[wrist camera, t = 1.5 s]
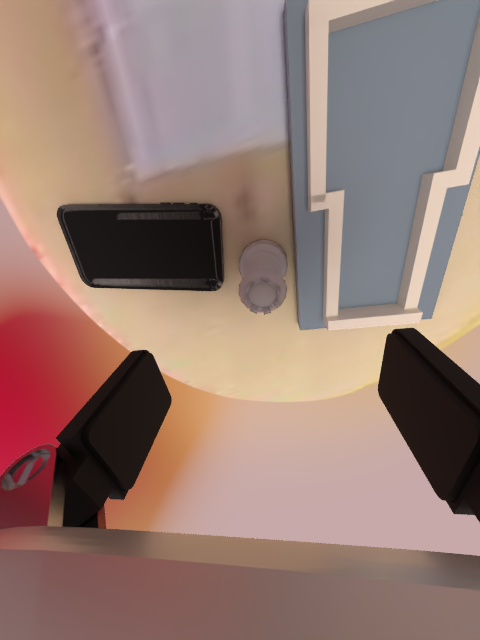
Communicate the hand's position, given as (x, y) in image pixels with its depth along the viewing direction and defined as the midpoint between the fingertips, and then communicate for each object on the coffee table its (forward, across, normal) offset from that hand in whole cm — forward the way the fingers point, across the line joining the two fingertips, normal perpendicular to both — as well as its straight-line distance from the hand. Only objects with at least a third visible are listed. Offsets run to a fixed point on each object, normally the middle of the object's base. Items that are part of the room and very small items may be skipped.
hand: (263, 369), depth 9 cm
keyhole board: (+14, -9, -5) cm, 17 cm away
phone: (+15, +11, -4) cm, 19 cm away
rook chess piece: (+14, 0, -1) cm, 14 cm away
